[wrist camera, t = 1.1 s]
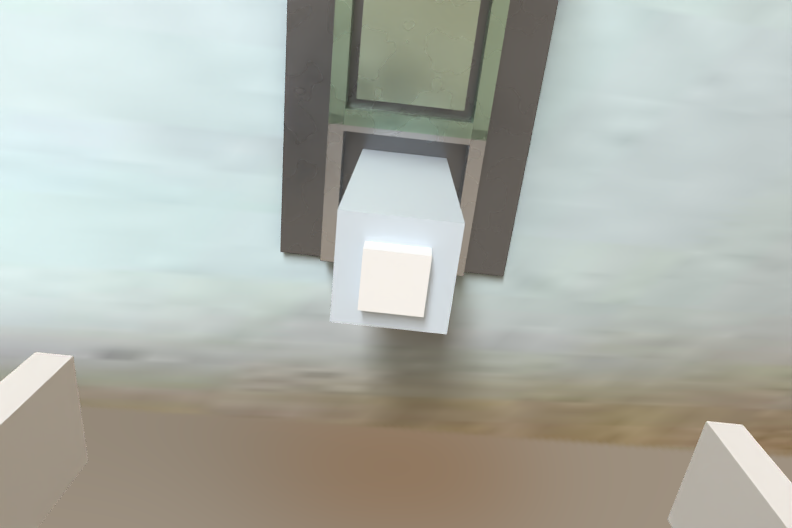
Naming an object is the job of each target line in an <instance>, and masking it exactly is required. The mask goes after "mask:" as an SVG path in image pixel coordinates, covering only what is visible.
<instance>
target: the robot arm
mask: <svg viewBox="0 0 792 528" xmlns="http://www.w3.org/2000/svg"><path fill="white" fill-rule="evenodd" d="M87 462H88V455H87V448H86V441H85V435H84V428H83V421H82V414H81V407H80V400H79V393H78V386H77V379H76V372H75V365H74V358H73V356H68V355H58V354H48V353H39V352H35V353H34V354H33V355H32V356H31V357H29V358H28V359H27V360H26V361H25V362H23V363H22V364H21V365H20V366H19V367H17V368H16V369H15V370H14V371H13V372H12V373H10V374H9V375H8V376H7V377H6V378H4V379H3V380H2V381H1V382H0V528H38V527H39V525H40V524H41V523H42V521H43V520H44V519H45V517H46V516H47V515H48V514H49V512H50V511H51V510H52V508H53V507H54V506H55V504H56V503H57V501H58V500H59V499H60V498H61V496H62V495H63V494H64V492H65V491H66V490H67V488H68V487H69V486H70V485H71V483H72V482H73V481H74V479H75V478H76V476H77V475H78V474H79V473H80V471H81V470H82V469H83V467H84V466H85V465H86V464H87ZM668 521H669V523H670V524H671V527H672V528H792V483H791V482H790V481H789V479H788V478H787V477H786V476H785V475H784V473H783V472H782V471H781V470H780V469H779V468H778V466H777V465H776V464H775V463H774V461H773V460H772V459H771V458H770V457H769V456H768V454H767V453H766V452H765V451H764V450H763V448H762V447H761V446H760V445H759V444H758V443H757V441H756V440H755V439H754V438H753V437H752V435H751V434H750V433H749V432H748V431H747V430H746V428H745V427H744V426H743V425H739V424H729V423H720V422H710V421H706V423H705V426H704V428H703V431H702V433H701V436H700V438H699V441H698V443H697V446H696V448H695V451H694V453H693V456H692V458H691V461H690V464H689V466H688V469H687V471H686V474H685V476H684V479H683V481H682V484H681V486H680V489H679V492H678V494H677V497H676V499H675V502H674V504H673V507H672V509H671V512H670V514H669V517H668Z"/></svg>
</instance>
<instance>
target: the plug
mask: <svg viewBox="0 0 792 528" xmlns="http://www.w3.org/2000/svg"><path fill="white" fill-rule="evenodd" d="M464 226H465V222H464V218H463V215H462V211H461V208H460V204H459V201H458V197H457V193H456V190H455V186H454V183H453V179H452V176H451V172H450V169H449V165H448V162H447V158H441V157H432V156H423V155H414V154H405V153H396V152H387V151H378V150H369V149H363V150H362V152H361V155H360V157H359V159H358V162H357V164H356V167H355V169H354V171H353V174H352V176H351V179H350V181H349V183H348V186H347V188H346V191H345V193H344V195H343V198H342V200H341V203H340V205H339V207H338V211H337V225H336V240H335V254H334V269H333V284H332V298H331V313H330V322H336V323H345V324H354V325H364V326H373V327H382V328H392V329H401V330H410V331H420V332H429V333H439V334H447V330H448V324H449V318H450V312H451V306H452V300H453V293H454V287H455V281H456V275H457V269H458V263H459V257H460V251H461V245H462V239H463V233H464Z"/></svg>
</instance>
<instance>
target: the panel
mask: <svg viewBox="0 0 792 528" xmlns="http://www.w3.org/2000/svg"><path fill="white" fill-rule="evenodd" d="M557 5H558V0H287V36H286V72H285V108H284V144H283V180H282V216H281V252H287V253H297V254H306V255H315V256H320V261H329V262H334V254H335V240H336V225H337V211H338V207H339V205H340V203H341V200H342V198H343V195H344V193H345V191H346V188H347V186H348V183H349V181H350V179H351V176H352V174H353V171H354V169H355V167H356V164H357V162H358V159H359V157H360V155H361V152H362V150H363V149H369V150H378V151H387V152H396V153H405V154H414V155H423V156H432V157H441V158H447V162H448V165H449V169H450V172H451V176H452V179H453V183H454V186H455V190H456V193H457V197H458V201H459V204H460V208H461V211H462V215H463V218H464V222H465V226H464V233H463V239H462V245H461V251H460V257H459V263H458V269H457V275H458V276H463V275H464V272H471V273H480V274H490V275H499V276H503V274H504V270H505V265H506V260H507V255H508V250H509V245H510V240H511V235H512V230H513V225H514V220H515V215H516V210H517V205H518V200H519V195H520V190H521V185H522V180H523V175H524V170H525V165H526V160H527V155H528V150H529V145H530V140H531V135H532V130H533V125H534V120H535V115H536V110H537V105H538V100H539V95H540V90H541V85H542V80H543V75H544V70H545V65H546V60H547V55H548V50H549V45H550V40H551V35H552V30H553V25H554V20H555V15H556V10H557Z"/></svg>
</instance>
